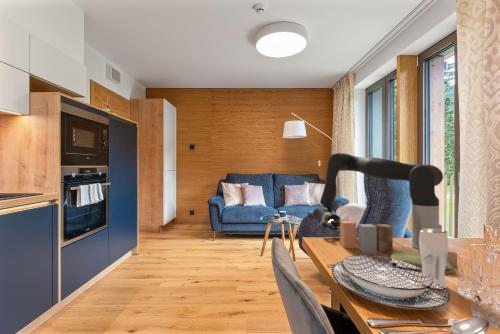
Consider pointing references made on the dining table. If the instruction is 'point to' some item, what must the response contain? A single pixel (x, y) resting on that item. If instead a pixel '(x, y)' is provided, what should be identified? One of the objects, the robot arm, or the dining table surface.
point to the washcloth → (417, 260)
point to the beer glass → (433, 253)
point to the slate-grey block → (367, 238)
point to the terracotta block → (348, 234)
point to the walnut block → (384, 238)
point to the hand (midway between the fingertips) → (341, 227)
